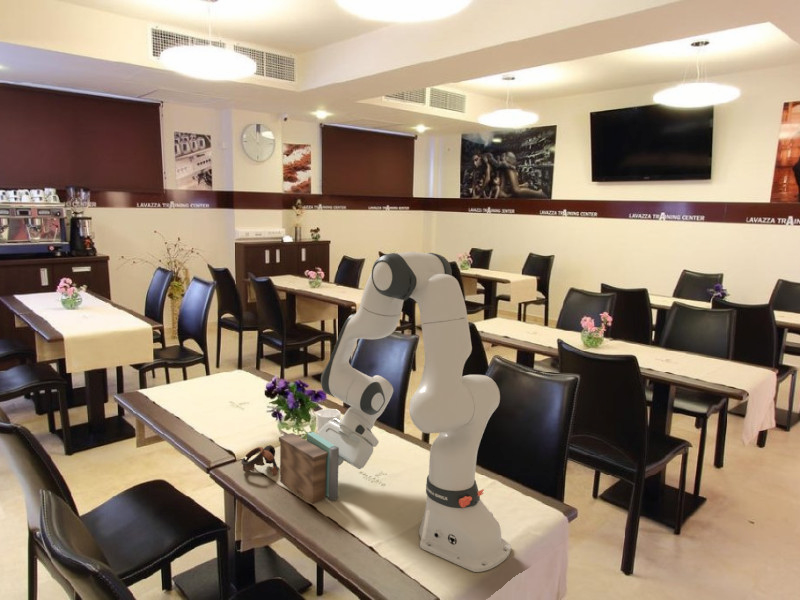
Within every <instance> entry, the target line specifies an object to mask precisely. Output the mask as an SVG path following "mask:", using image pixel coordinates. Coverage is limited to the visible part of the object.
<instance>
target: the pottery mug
mask: <svg viewBox="0 0 800 600" xmlns="http://www.w3.org/2000/svg"><path fill="white" fill-rule="evenodd" d="M255 455H256V456H255ZM254 456H255V457H254ZM275 456H276V449H275V447H274V446H273V445H270V444H269V445H266V446H264V448H263V447H262V446H258V447H255V448H253V449H251V450H250V451H248V452H247V453H246V454H245V457H246V458H245V457H243V458H242V459H241V465H242V471H244V472H248V471H251V472H255V466H260V467H263V466H265V465H266V464H270V465H271V464H272V466H273V467H272V468H271V469H270V472H271V474H272V476H273V477H275V476H276V475H277V473H278V472H279V468H278V465H277V462H276V459H275ZM252 457H254V458H253V459H251V458H252ZM250 459H251V460H250ZM264 460H265V461H264Z"/></svg>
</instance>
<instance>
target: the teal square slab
mask: <svg viewBox="0 0 800 600" xmlns="http://www.w3.org/2000/svg"><path fill="white" fill-rule="evenodd" d="M306 441H308V442H310V443H312V444H313V445H315V446H317V447H319V448H320V449H322V450H324V451H326V452H328V457H326V485H325V497H327V498H328V499H329V500H330V501H331V500H332V501H333V500H334V501H335V500H337V499H338V498H339V496H338V494H339V493H338V492H339V488H338V487H339V466H338V460H339V448H338V447H336V446H334V445H333V444H331V443H330V442H328V441H327V440H325V439H324V438H322V437H320V436H319V435H317V433H316V432H314V431H312V432H308V433H306Z"/></svg>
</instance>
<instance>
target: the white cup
mask: <svg viewBox="0 0 800 600" xmlns="http://www.w3.org/2000/svg"><path fill="white" fill-rule="evenodd" d="M341 415H342V413H341V411H340V410H338V409H336V408H323V409H319V410H318V411H317V412H316V428H317V430H316V431H317V433H318V432H319V430H320V429H321V428H322V427H323V426H324V425H325V424H326V423H327V422H328V421H329V420H331V419H334V418H337V419H338V420H341ZM317 433H316V434H317Z"/></svg>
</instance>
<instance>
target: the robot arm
mask: <svg viewBox="0 0 800 600" xmlns="http://www.w3.org/2000/svg"><path fill="white" fill-rule="evenodd" d="M452 271H453V269H452V267H451V263H450V262H449V260H448V259H447V258H446V257H444V256H443V255H441V254H438V253H434V252H427V253H426V252H416V251H405V252H404V251H403V252H398V253H396V252H390V253H386V254H384V255H382V256H380V257H378V258H377V259H376V260H375V261H374V263H373V265H372V269H371V272H370V274H369V277H368V278H367V281H366V283H365V286H364V289H363V291H362V297H361V299H360V305H359V307H358V309H357V311H356V313H352V314H350V315H349V316H348V318H347V319H346V320H345V322H344V324H343V326H342V328H341V330H340V332H339V335H338V338H337V340H336V342H335V345H334V348H333V350H332V352H331V356H330V358H329V360H328V362H327V364H326V366H325V367H324V370H323V371H322V373H321V377H320V384H321V388H322V391H323V393H325V394H326V395H329V396H330V397H333V398H336V399H338V400H339V401H341V402H343V403H344V404H346V405H347V406H350V407H348V409H347V410H346V412H345V413H344V414H343V415H342V418H340V420H338V419H337V418H334V419H331V420H329V421H328V422H327V423H326V424H325V425H324V426H323V427H322V428H321V429H320V430H319V432H318V433H316V434H317V435H319V436H320V437H322V438H324V439H325V440H327V441H328V442H330V443H331V444H333V445H334V446H336V447H338V448H339V460H338V467H339V466H341V465H342V464H343V463H344V462H347V464H349V465H351V466H353V467H355V468H356V469H357V470H361V469H363V468H364V467H365V466H366V465H367V463H368V461H369V460H370V458H371V457H372V454H373V453H374V448H375V447H377V446H378V444H379V439H378V438H377V436H376V435H374V433H373V432H372V429H373V427H374V426H375V422H376V421H377V419H378V418H379V417H380V416H381V415H382V414H383V412H385V409H386V408H387V405H388V404H389V402H390V400H391V398H392V396H393V394H394V387H393V385H392V384H391V382H390V381H389V380H387V378H385V377H384V376H381V375H379V374H377V375H373V376H369V375H367V374H366V373H363V372H362V371H359V370H358V369H356V368H354V367H353V366H352V365H351V364H350V358H351V356H352V354H353V351H354V349H355V346H356V344H357V341H358V340H362V339H363V340H379V339H383V338H386V337H388V336H390V335H392V334H393V333H394V332H395V331H396V329H397V327H398V324H399V322H400V319H401V315H402V311H403V310H402V309H403V307H404V302H405V301H407V300H408V299H409V298H410V299H413V300H414V302H416V304H417V305H418V308H419V315H420V316H419V317H420V325H421V331H422V332H421V333H422V339H423V340H422V341H423V351H424V360H423V361H424V362H423V363H424V364H423V371H422V375H421V379H420V382H419V385H418V387H417V389H416V390H415V392H414V394H413V395H412V396H411V398H410V401H409V406H408V407H409V408H408V409H409V410H408V411H409V417H410V419H411V420H410V421H412V423H413V425H414V426H415V427H416V429H417V430H418V431H420V432H422V433H424V434H438V435H437V437H436V438H435V439H434V440H433V442H432V444H431V446H430V449H429V463H428V464H429V465H428V475H427V478H426V482H425V483H426V484H425V494H426V502H425V508H424V513H423V517H422V520H421V523H420V526H419V529H418V535H419V537H420V541H419V548H420V549H421V550H424V551H426V552H428V553H430V554H433V555H435V556H438V557H439V558H442V559H444V560H446V561H448V562H450V563H452V564H455V565H457V566H460V567H461V568H464V569H466V570H469V571H471V572H474V573H481V572H485V571H489V570H491V569H493V568H495V567H497V566H499V565H500V564H501V563H503V562H504V561H505V560H506V559H507V558H508V557H509V556H510V554H511V551H512V550H511V544H510V543H509V541H506V540H505V539H504V538H503V537H502V530H501V525H500V523H499V521H498V520H497V519H496V518H495V517H494V514H493V512H492V511H491V510H489V508H488V507H487V506H486V505H485V504H484V503H483V501H482V500H481V496H482V495H484V490H485V489H483V488H482V489H481V490H479V488H478V484H477V480H476V468H477V460H478V459H477V457H478V451H479V447H480V444H481V440H482V438H483V434H484V432H485V430H486V427H487V424H488V422H489V421H490V418H491V417H492V415H493V413H494V412H496V410H497V408H498V407H499V405H500V400H501V395H500V394H501V393H500V389H499V387H498V385H497V383H496V382H495V381H494V380H493V378H491V377H490V376H487V375H484V374H467V375H463V372H464V371H463V370H464V367H465V364H466V362H467V360H468V358H469V357H470V355H471V354H472V351H473V346H472V339H471V332H470V331H471V330H470V324H469V318H468V312H467V305H466V303H465V297H464V295H463V292H462V289H461V285H460V283H459V281H458V279H457V278H455V276H453V275H452V274H453V272H452Z"/></svg>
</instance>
